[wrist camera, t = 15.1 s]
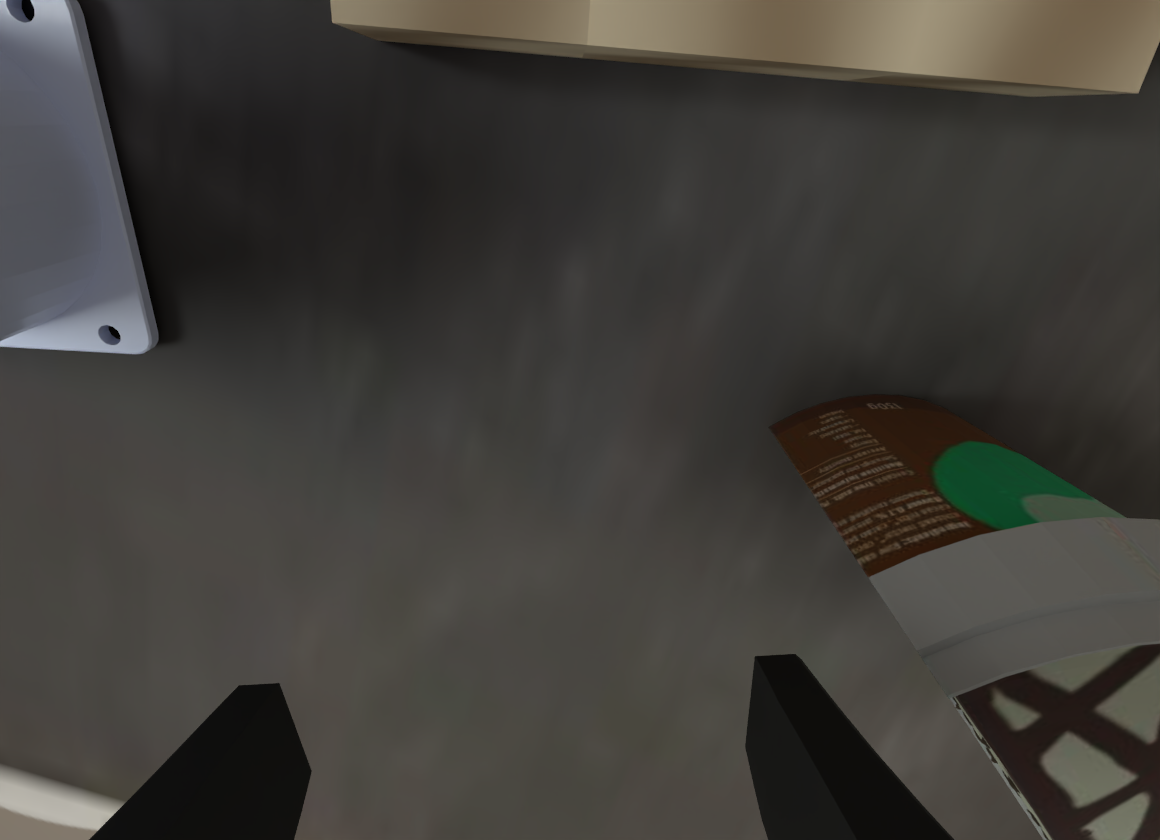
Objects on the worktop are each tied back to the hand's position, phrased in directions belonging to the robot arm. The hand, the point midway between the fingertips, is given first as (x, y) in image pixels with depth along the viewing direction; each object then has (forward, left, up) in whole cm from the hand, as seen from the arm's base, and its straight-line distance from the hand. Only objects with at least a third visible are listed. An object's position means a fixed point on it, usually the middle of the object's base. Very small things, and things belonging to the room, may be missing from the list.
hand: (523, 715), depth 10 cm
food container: (+12, -1, -10) cm, 15 cm away
